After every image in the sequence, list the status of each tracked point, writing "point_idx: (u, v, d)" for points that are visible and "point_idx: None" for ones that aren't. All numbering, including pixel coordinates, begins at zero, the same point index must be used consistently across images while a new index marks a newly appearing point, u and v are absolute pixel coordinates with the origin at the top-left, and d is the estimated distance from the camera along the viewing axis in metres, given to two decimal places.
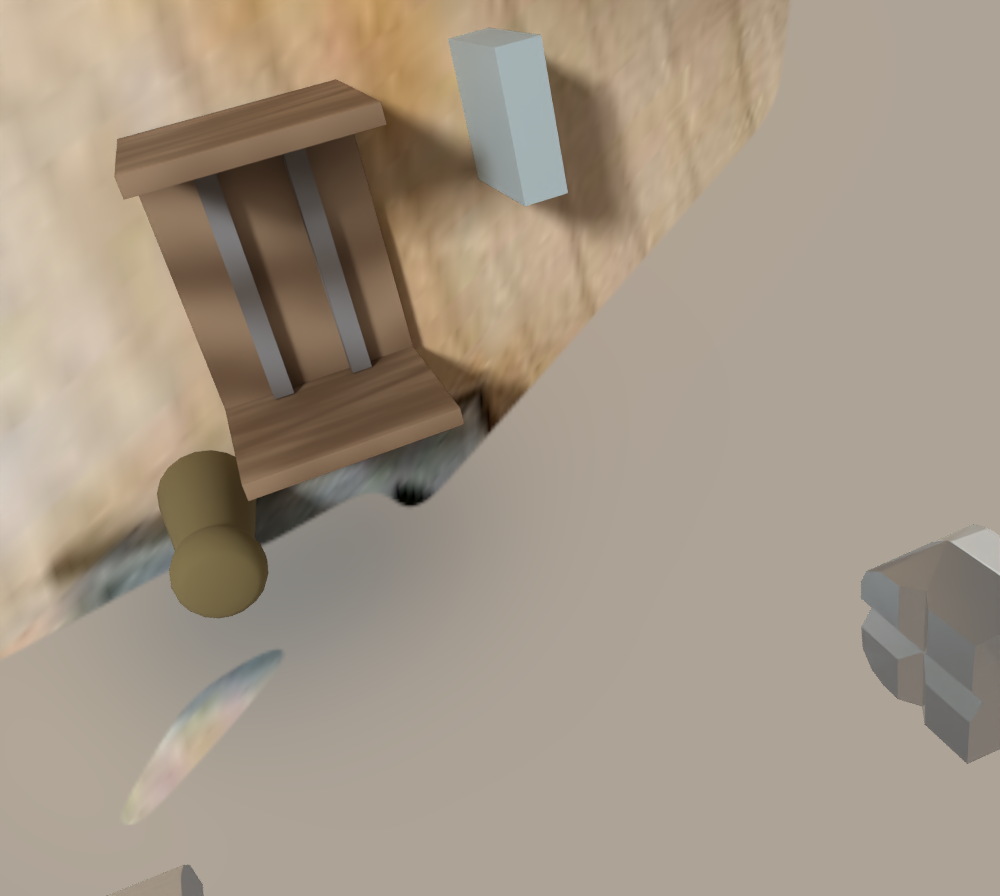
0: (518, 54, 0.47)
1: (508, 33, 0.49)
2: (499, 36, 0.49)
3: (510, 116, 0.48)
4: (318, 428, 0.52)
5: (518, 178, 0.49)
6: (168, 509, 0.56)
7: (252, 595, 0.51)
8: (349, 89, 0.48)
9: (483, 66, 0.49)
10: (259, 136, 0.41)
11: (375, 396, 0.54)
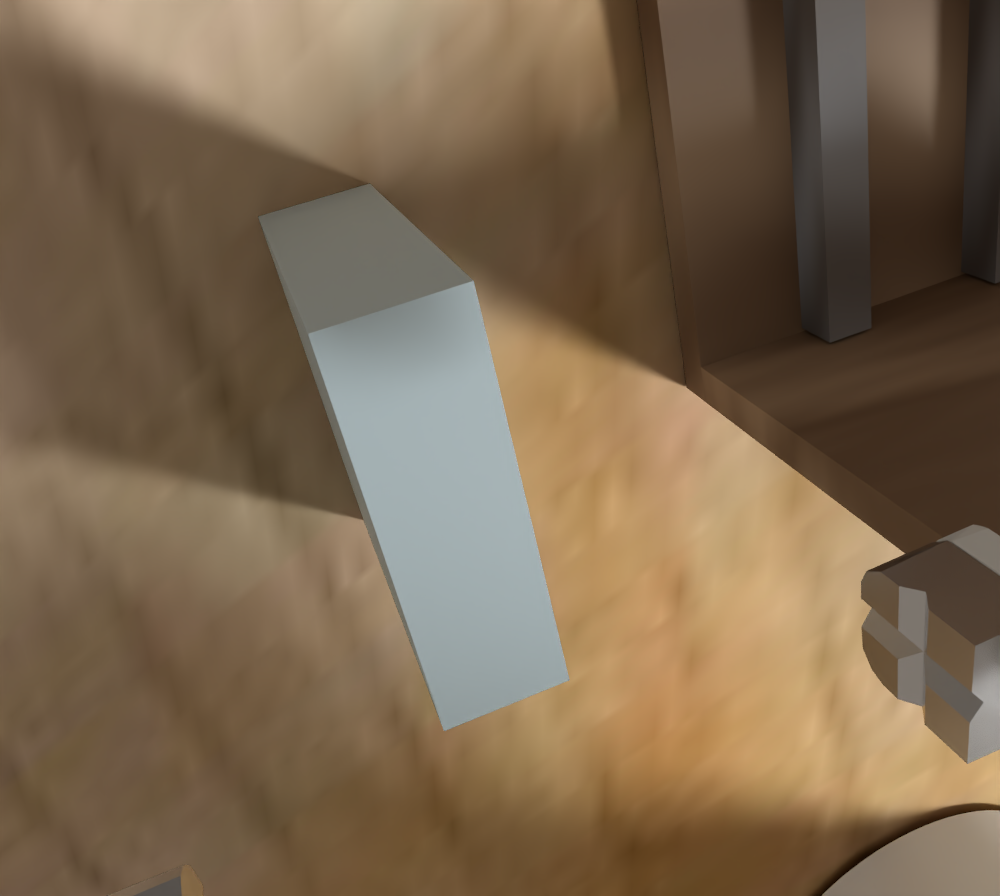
0: (505, 680, 0.17)
1: None
2: None
3: (529, 540, 0.16)
4: None
5: (492, 366, 0.15)
6: None
7: None
8: None
9: None
10: None
11: None
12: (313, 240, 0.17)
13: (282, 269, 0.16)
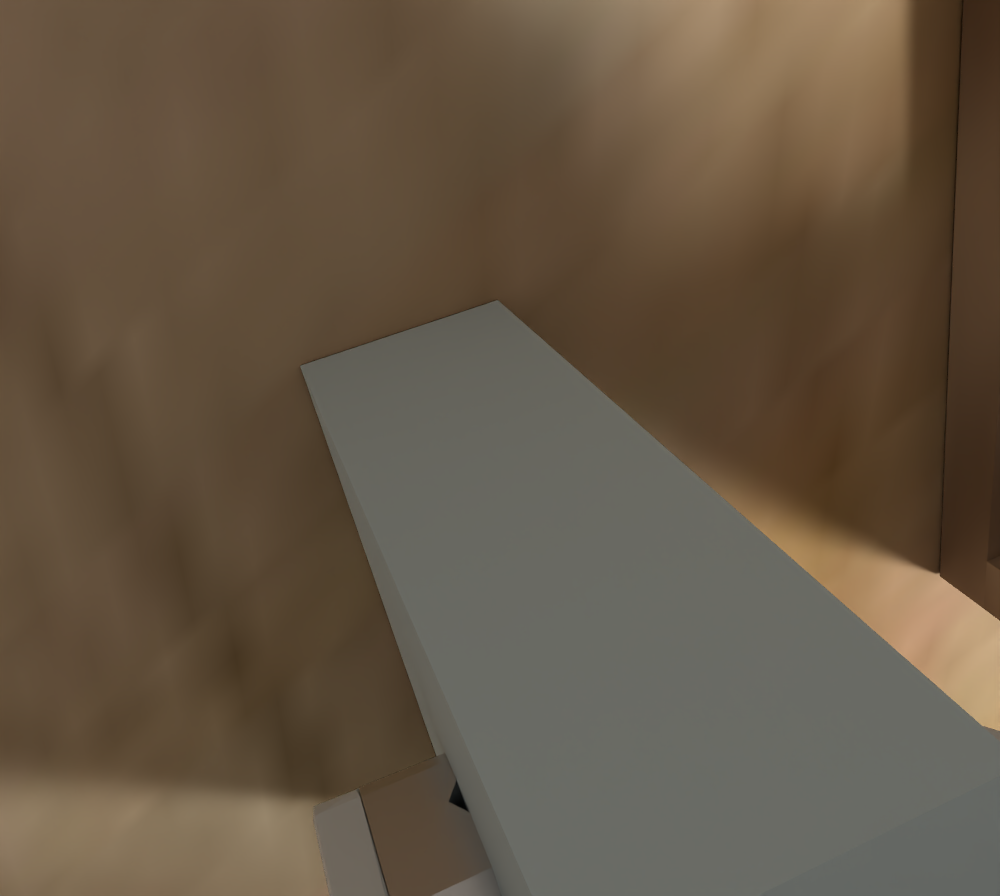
0: None
1: None
2: None
3: None
4: None
5: None
6: None
7: None
8: None
9: None
10: None
11: None
12: (438, 465, 0.08)
13: (393, 569, 0.07)
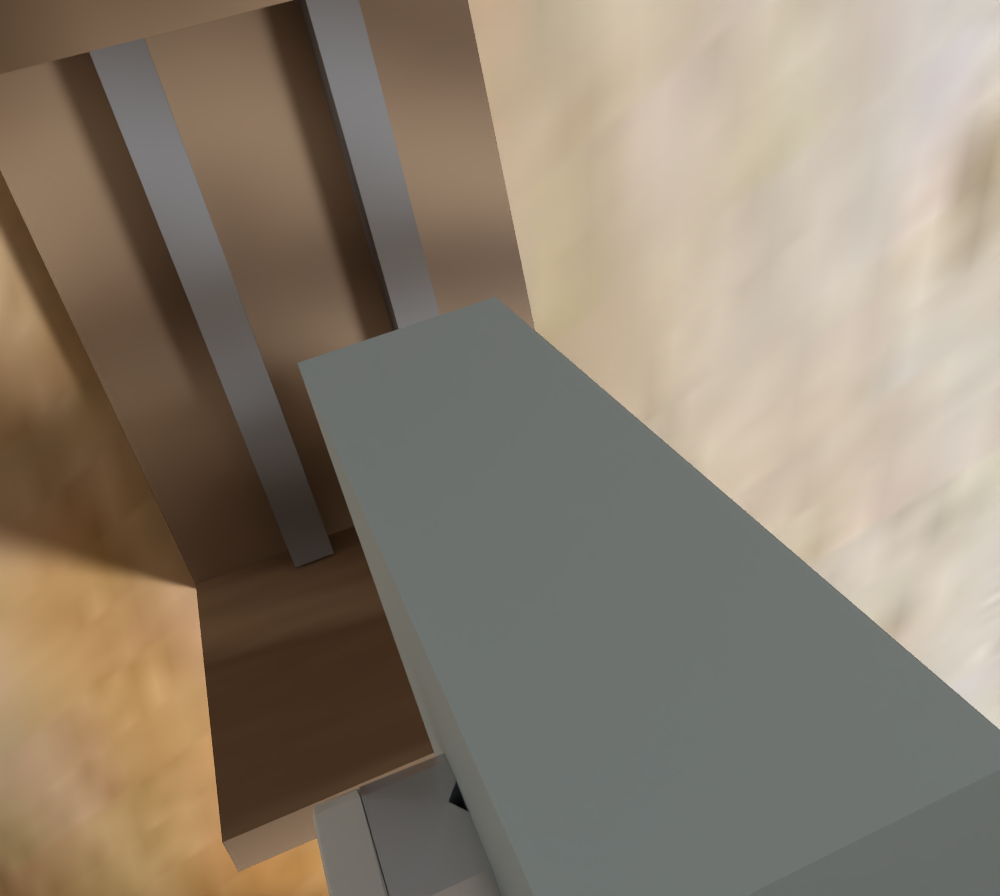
0: None
1: None
2: None
3: None
4: None
5: None
6: None
7: None
8: None
9: None
10: None
11: None
12: (436, 460, 0.08)
13: (390, 564, 0.07)
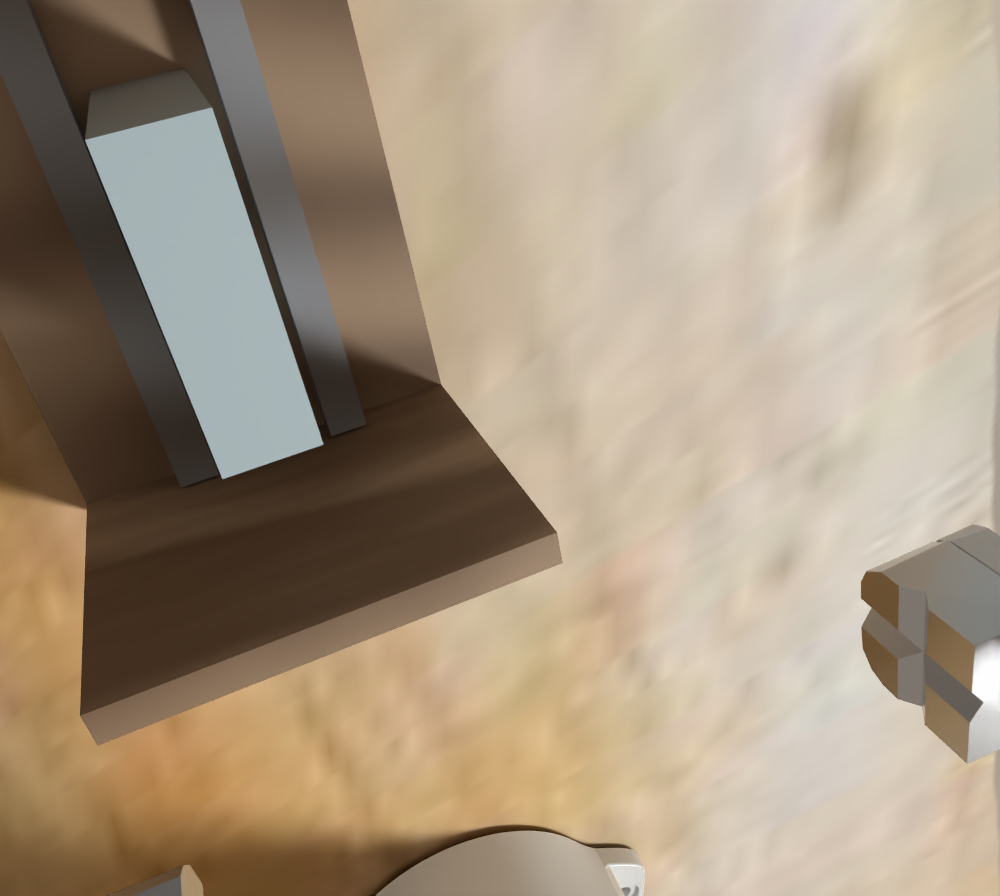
0: (269, 440, 0.22)
1: None
2: None
3: (277, 321, 0.21)
4: None
5: (235, 178, 0.20)
6: None
7: None
8: None
9: None
10: (327, 652, 0.23)
11: None
12: (121, 99, 0.22)
13: (89, 114, 0.21)
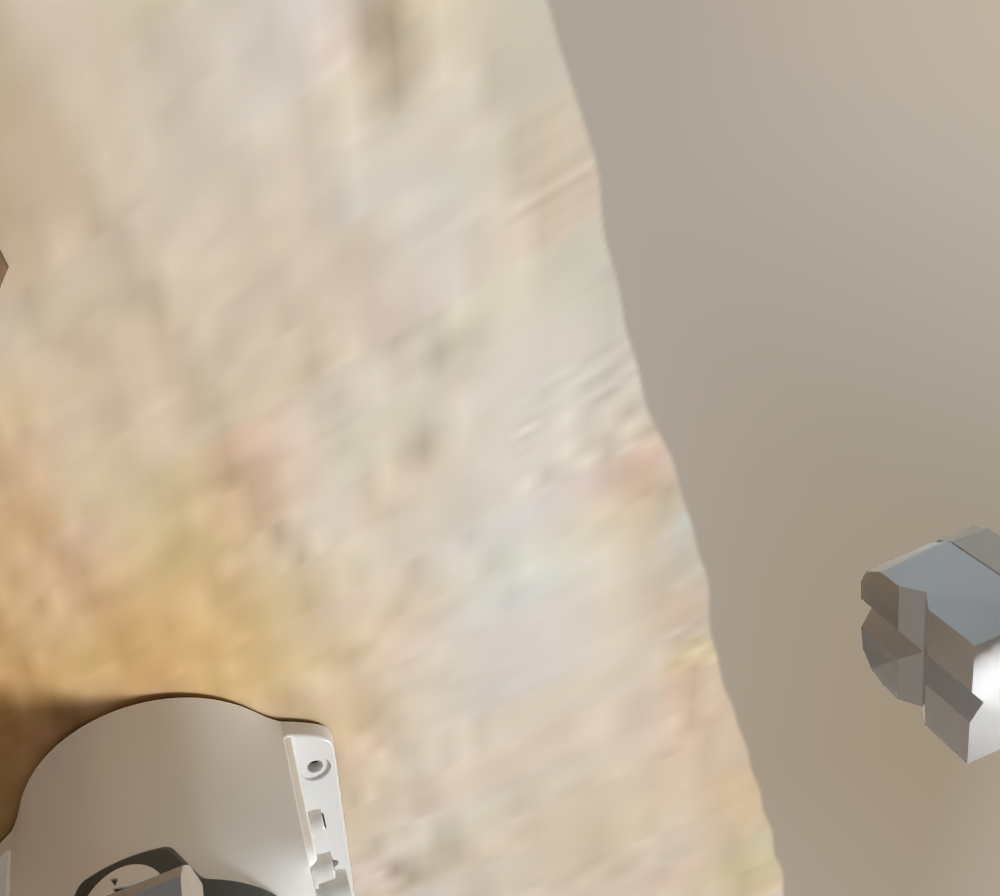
0: None
1: None
2: None
3: None
4: None
5: None
6: None
7: None
8: None
9: None
10: None
11: None
12: None
13: None
